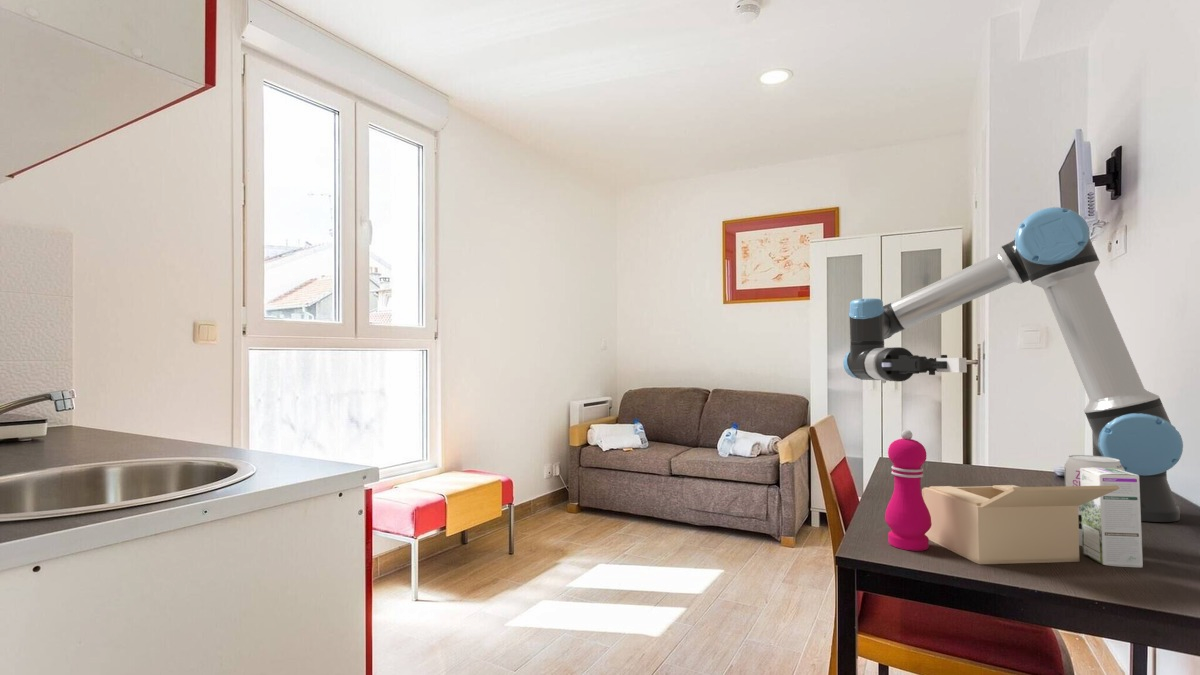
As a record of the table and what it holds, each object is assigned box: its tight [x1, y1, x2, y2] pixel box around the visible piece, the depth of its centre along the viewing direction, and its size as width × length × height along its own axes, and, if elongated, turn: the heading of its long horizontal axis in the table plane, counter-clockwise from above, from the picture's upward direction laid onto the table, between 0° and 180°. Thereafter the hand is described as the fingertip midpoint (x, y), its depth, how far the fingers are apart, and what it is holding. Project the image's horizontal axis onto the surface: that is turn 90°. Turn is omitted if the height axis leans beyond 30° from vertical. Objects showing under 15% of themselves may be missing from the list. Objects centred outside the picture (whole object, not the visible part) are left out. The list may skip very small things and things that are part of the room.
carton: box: [921, 484, 1080, 565], centre depth 103 cm, size 17×15×9 cm
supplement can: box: [1064, 454, 1125, 548], centre depth 105 cm, size 8×8×15 cm
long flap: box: [980, 485, 1119, 508], centre depth 92 cm, size 17×1×8 cm
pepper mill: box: [884, 429, 932, 552], centre depth 105 cm, size 7×7×20 cm
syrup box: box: [1080, 467, 1144, 569], centre depth 97 cm, size 6×6×14 cm
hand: (962, 365), depth 111 cm, fingers closed
